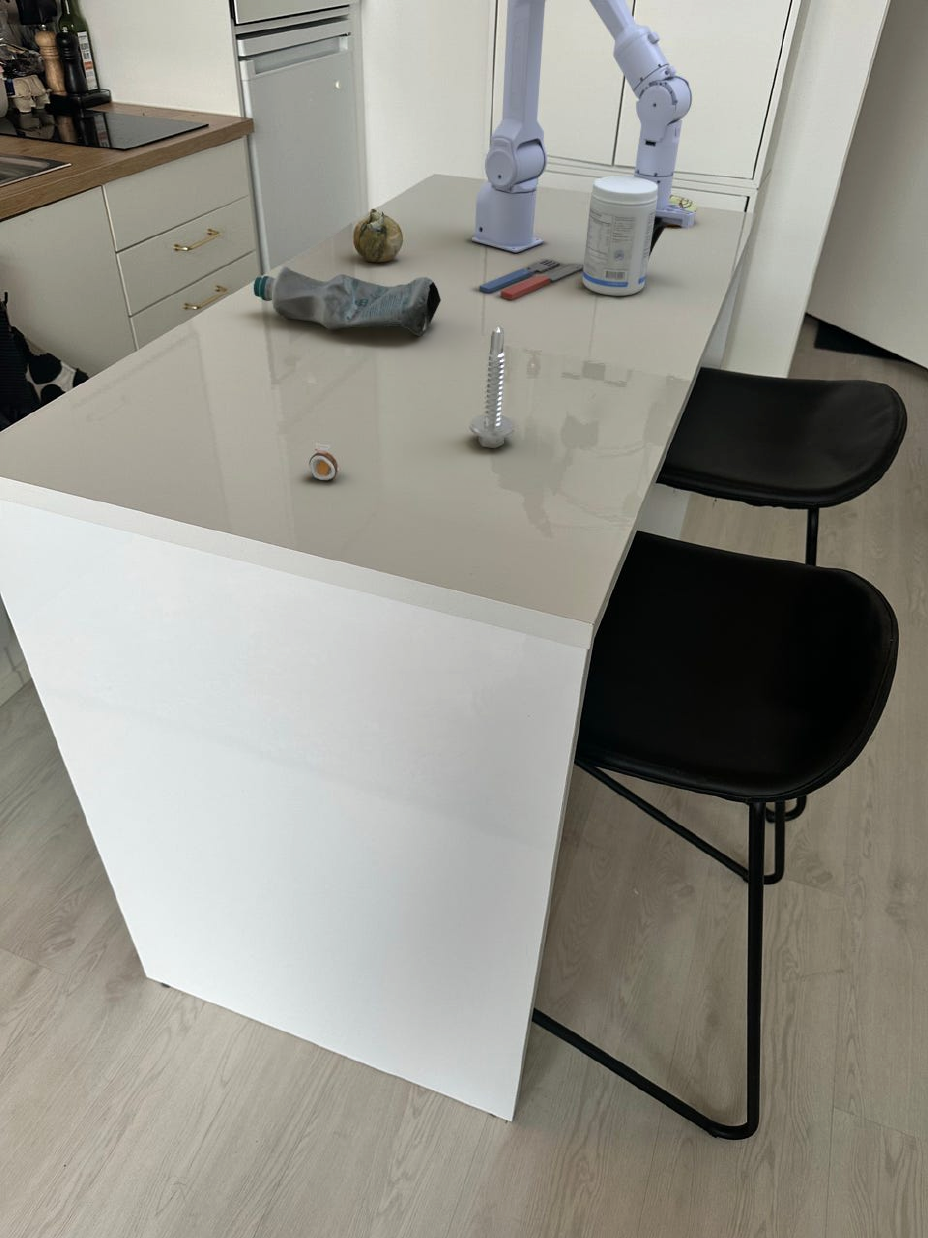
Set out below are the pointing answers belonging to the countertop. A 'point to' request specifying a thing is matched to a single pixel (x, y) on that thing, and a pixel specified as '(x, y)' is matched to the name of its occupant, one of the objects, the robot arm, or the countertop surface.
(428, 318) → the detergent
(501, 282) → the fork
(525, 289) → the knife
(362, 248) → the onion
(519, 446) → the countertop surface
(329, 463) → the chocolate
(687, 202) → the decorated donut
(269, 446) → the countertop surface
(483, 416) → the screw
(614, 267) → the supplement tub
